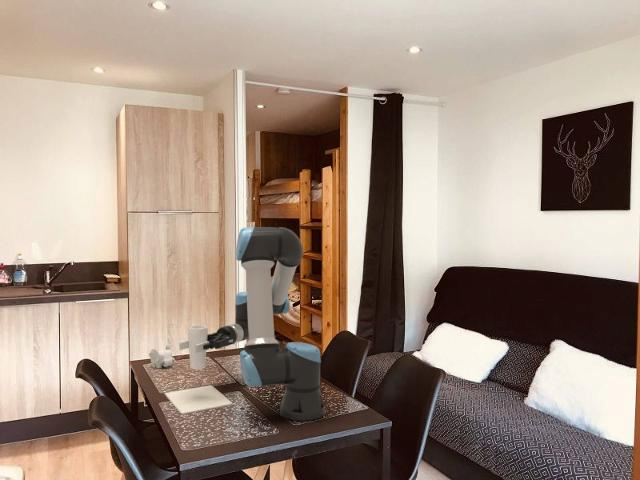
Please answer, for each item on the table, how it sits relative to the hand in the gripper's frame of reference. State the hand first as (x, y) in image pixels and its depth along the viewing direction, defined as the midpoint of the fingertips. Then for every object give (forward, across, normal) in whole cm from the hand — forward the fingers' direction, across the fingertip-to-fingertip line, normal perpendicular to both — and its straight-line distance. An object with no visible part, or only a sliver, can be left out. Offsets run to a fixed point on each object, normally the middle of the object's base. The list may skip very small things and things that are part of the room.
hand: (187, 347), depth 175 cm
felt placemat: (-5, 0, -20) cm, 20 cm away
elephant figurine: (-27, +40, -20) cm, 52 cm away
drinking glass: (-5, 0, -9) cm, 10 cm away
